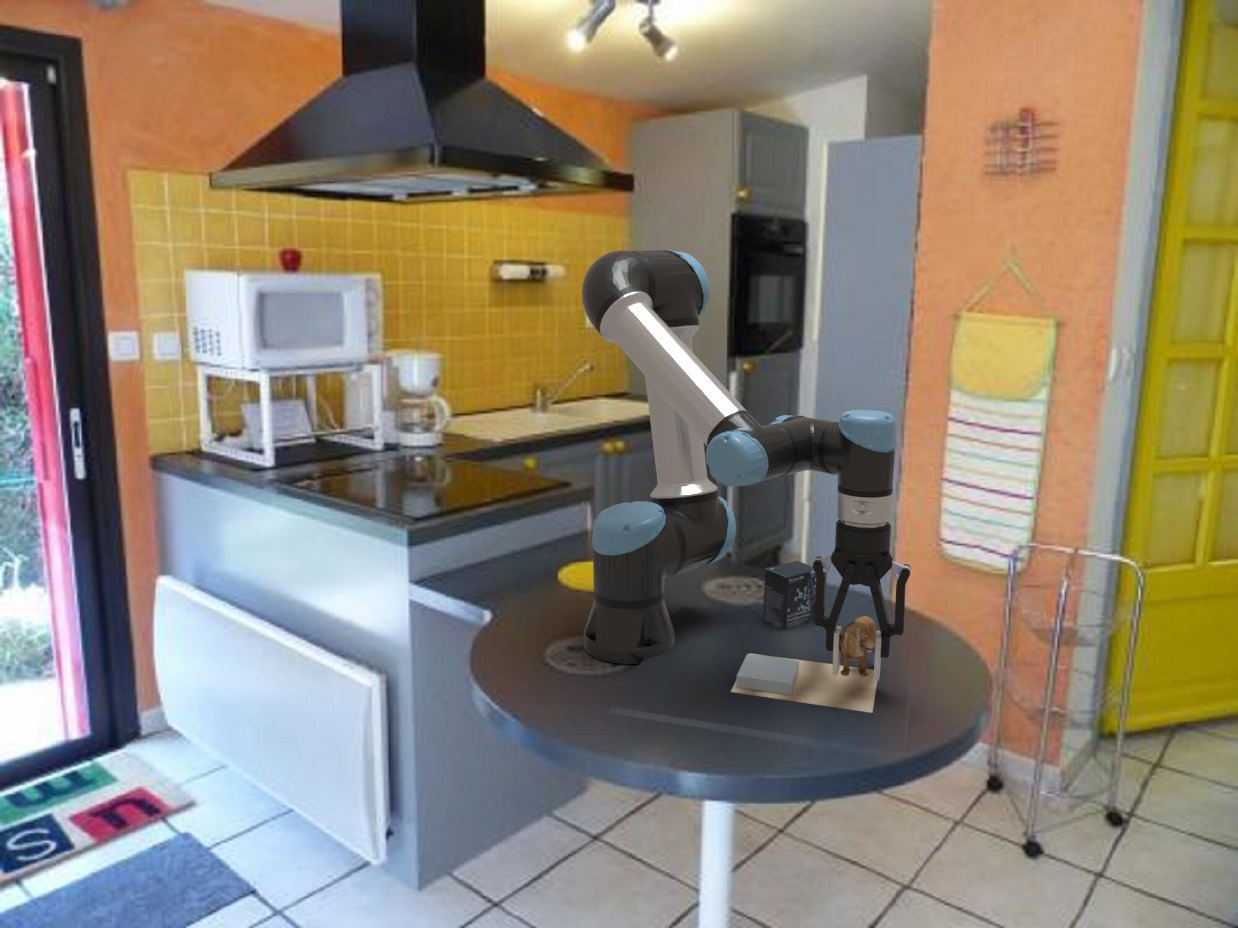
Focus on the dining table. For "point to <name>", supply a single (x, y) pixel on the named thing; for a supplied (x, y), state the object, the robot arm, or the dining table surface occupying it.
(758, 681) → the block
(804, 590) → the box
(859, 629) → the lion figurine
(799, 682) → the board
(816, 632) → the dining table surface
